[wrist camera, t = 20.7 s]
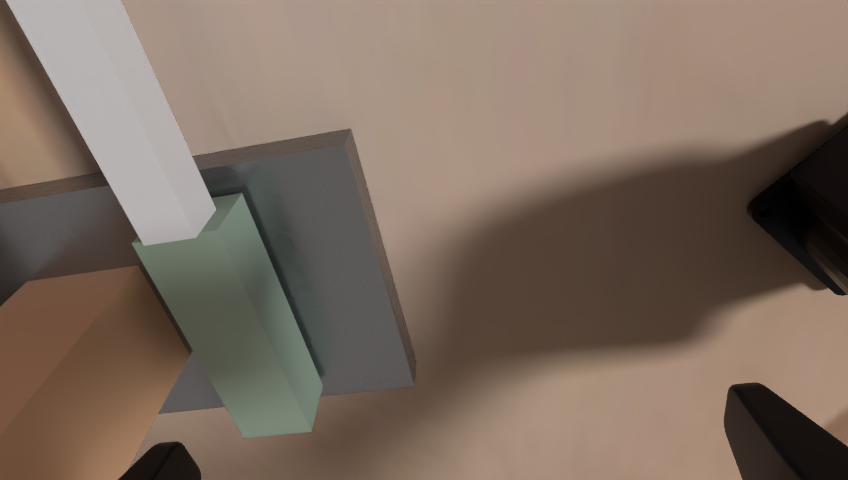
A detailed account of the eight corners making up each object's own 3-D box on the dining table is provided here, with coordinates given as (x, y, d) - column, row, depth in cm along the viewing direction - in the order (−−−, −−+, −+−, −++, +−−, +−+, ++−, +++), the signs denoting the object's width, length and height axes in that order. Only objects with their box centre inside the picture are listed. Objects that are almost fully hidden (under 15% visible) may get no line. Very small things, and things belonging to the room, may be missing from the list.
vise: (350, 128, 20) (329, 182, 16) (416, 362, 26) (411, 438, 23) (-157, 217, 23) (-270, 279, 19) (12, 408, 29) (-49, 481, 26)
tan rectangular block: (138, 265, 22) (-56, 503, 13) (190, 355, 24) (56, 600, 16) (27, 281, 22) (-223, 517, 14) (89, 367, 25) (-90, 609, 17)
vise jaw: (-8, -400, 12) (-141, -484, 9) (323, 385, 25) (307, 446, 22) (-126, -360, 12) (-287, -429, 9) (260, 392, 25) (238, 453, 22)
